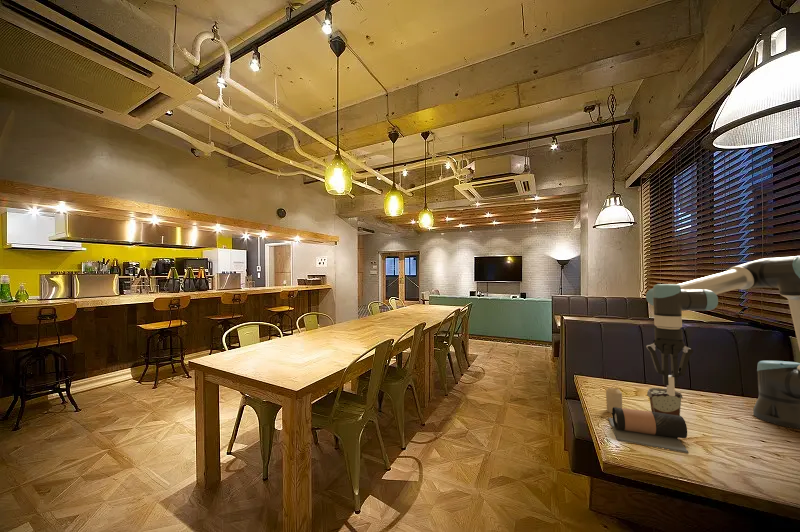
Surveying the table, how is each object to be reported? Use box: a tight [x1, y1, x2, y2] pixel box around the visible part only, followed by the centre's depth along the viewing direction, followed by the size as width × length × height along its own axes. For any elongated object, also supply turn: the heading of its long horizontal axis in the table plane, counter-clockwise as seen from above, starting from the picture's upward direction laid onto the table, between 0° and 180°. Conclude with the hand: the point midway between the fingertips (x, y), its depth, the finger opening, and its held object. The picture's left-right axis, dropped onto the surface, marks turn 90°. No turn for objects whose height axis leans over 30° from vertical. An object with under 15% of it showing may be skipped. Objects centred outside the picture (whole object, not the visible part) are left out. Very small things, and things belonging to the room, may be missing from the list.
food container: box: [646, 387, 684, 416], centre depth 128 cm, size 12×6×10 cm, turn 84°
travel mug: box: [611, 407, 688, 439], centre depth 111 cm, size 8×8×20 cm
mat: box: [607, 417, 689, 454], centre depth 112 cm, size 19×18×1 cm
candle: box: [605, 386, 623, 414], centre depth 131 cm, size 6×6×10 cm
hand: (670, 394), depth 109 cm, fingers closed
